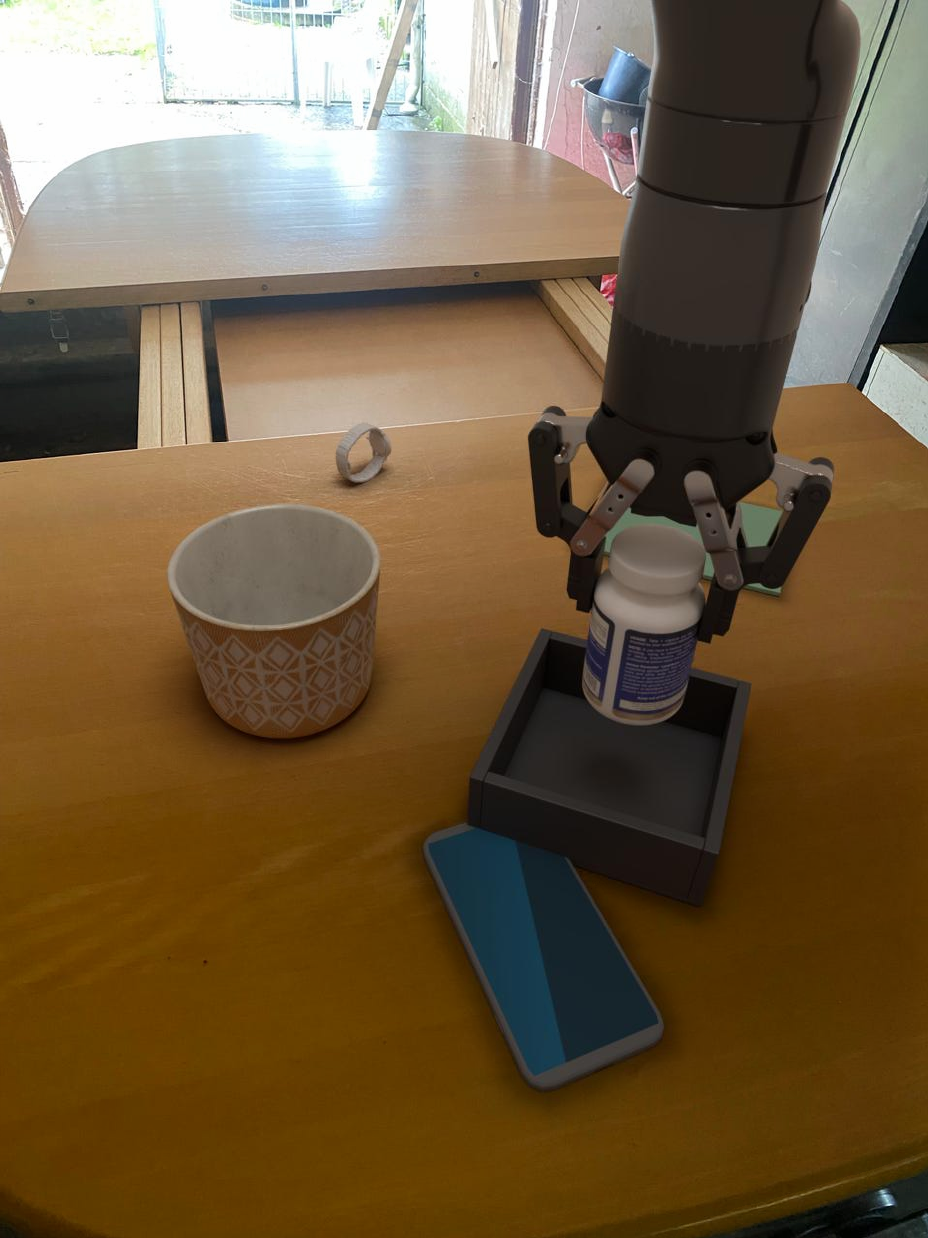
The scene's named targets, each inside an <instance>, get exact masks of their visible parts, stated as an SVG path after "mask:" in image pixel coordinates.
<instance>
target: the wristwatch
mask: <svg viewBox="0 0 928 1238" xmlns="http://www.w3.org/2000/svg"><path fill="white" fill-rule="evenodd" d="M368 432H369V433H368ZM367 433H368V436H366V437H365V439H366V440H368V443H369V445H370V448H371V450H372V452H371V455H372V457H371V459H370V461H369V462H368V464H367V465H366V467H365V468H364V469H362V470H361V471H360V472H357V473H355V474H351V473H350V471H352V464H351V462H350V460H349V454H350V451H351V450H352V449H353V446H355V444H356V443H357V442H358V441H359V439H360V438H361V437H362V436H364V435H365V434H367ZM391 453H392V443H391V441H390V439H389V437H388V436H387V434H386V433H385V432H384V431H383V430H381V429H380V428H379V427H377V426H375V425H372V424H371V423H368V422H360V423H357V424H356V425H354V426H352V427H351V428H349V429H348V431H347V432H346V433H345V435H344V436H343V437H342V438H341V439H340V441H339V442H338V443H337V446H336V449H335V463H336V468H337V472H338V473H339V475H340V476H341V477H343V478H346V479H347V480H349V481H351V482H354V483H364V482H368V481H370V480H372V479H374V478H375V477H376V476H377V475H378V474H379V472H380V470H381V469H382V467H383V466H384V463H385V462H386V461H387V460H388V457H389V456H390V455H391Z"/></svg>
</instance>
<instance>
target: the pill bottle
mask: <svg viewBox="0 0 928 1238" xmlns="http://www.w3.org/2000/svg"><path fill="white" fill-rule="evenodd" d="M705 561H706V552H705V549H704V547H703V545H702V544H701V543H700V542H699V541H698V540H697V539H696V538H695V537H694V536H692V535H690V534H689V533H687V532H685V531H683V530H680V529H678V528H675V527H671V526H666V525H660V524H642V525H636V526H632V527H629V528H626V529H624V530H622V531H621V532H619V533H618V534H617V535H616V536H615V537H614V539H613V541H612V543H611V548H610V555H609V556H608V561H607V564H608V567H606V568H605V570H603V572H601V575H600V577H599V578H598V580H597V582H596V585H595V590H594V594H593V602H592V609H591V611H590V618H589V625H588V633H587V639H586V640H587V647H586V654H585V662H584V670H583V679H582V686H583V691H584V694H585V696H586V698H587V700H588V701H589V703H590V704H591V705H592V706H593V707H594V708H595V709H596V710H597V711H598V712H599V713H601V714H602V715H604V716H605V717H607V718H609V719H612V720H614V721H617V722H620V723H623V724H628V725H639V726H641V725H652V724H656V723H659V722H662V721H664V720H666V719H668V718H670V717H671V716H672V715H674V714H675V713H676V712H677V711H678V709H679V708H680V706H681V705H682V703H683V700H684V696H685V693H686V688H687V684H688V680H689V676H690V671H691V667H692V666H693V662H694V659H695V658H694V657H695V653H696V648H697V645H698V641H697V638H698V634H699V630H700V626H701V622H702V618H703V613H704V609H705V605H706V601H707V598H706V594H705V590H704V588H703V586H702V584H701V581H702V579H703V578H702V577H703V572H704V566H705Z"/></svg>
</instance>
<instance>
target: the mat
mask: <svg viewBox="0 0 928 1238" xmlns="http://www.w3.org/2000/svg"><path fill="white" fill-rule="evenodd" d="M739 502H740V506H741V510H742V524H743V528H744V532H745V535H746V539H747V543H748V547H756V546H766V544H767V542H768V540H769V538H770V536H771V534H772V532H773V530H774V528H775V526H776V524H777V522H778V520H779V518H780V516H781V514H782V512H783V510H779V509H774V508H770V507H766V506H761V505H757V504H752V503H747V502H742V501H739ZM642 524H660V525H666V526H671V527H675V528H678V529H680V530H683V531H685V532H687V533H689V534H690V535H692V536H694V537H695V538H696V539H697V540H698V541H699V542H700V543H701V544H702V545H703V541H702V538H701V535H700V531H699V528H698V524H697V526H696V527H692V526H687V525H683V524H679V523H677V522H675V521H672V520H670V519H668V518H666V517H663V516H657V517H646V516H641V515H637V514H632V513H631V508H628V509H627V510H626V512H625V513H624V514H623V515H622V517H621V518H620V519H619V521H618V522H617V523H616V524H615V526H614V527H613V528H612V529H611V531H608V532H607V534H606V535H605V536H606V543H605V550H604V556H608V557H609V555H610V548H611V543H612V541H613V539H614V537H615V536H616V535H617V534H618V533H619V532H621V531H622V530H624V529H626V528H629V527H632V526H636V525H642ZM703 547H704V545H703ZM704 549H705V548H704ZM705 552H706V551H705ZM713 574H714V568H713V564H712V561H711V557H710V554H709V553H706V561H705V566H704V572H703V577H702V579H703V580H708V581H712V578H713ZM742 589H745V590H750V591H755V592H759V593H762V594H767V595H770V596H771V595H772V596H776V597H780V595H781V591H782V586H781V587H779V588H777V589H768V588H765V587H764V586H762V585H761V584H760V583H757V584H749V585H746V586H744V587H743V588H742Z"/></svg>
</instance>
